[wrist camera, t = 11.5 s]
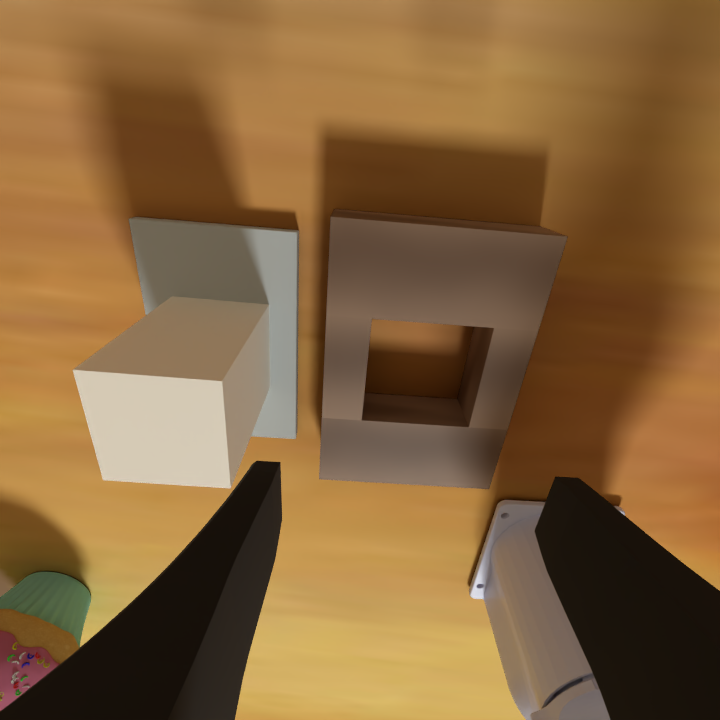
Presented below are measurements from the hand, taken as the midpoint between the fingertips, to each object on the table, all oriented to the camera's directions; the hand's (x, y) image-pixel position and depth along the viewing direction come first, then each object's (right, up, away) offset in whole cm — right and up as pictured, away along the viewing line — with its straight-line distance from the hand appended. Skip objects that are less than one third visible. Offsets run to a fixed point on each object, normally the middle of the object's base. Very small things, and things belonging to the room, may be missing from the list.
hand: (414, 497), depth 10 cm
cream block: (-8, +4, +9) cm, 13 cm away
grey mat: (-8, +5, +9) cm, 13 cm away
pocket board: (+1, +4, +10) cm, 10 cm away
